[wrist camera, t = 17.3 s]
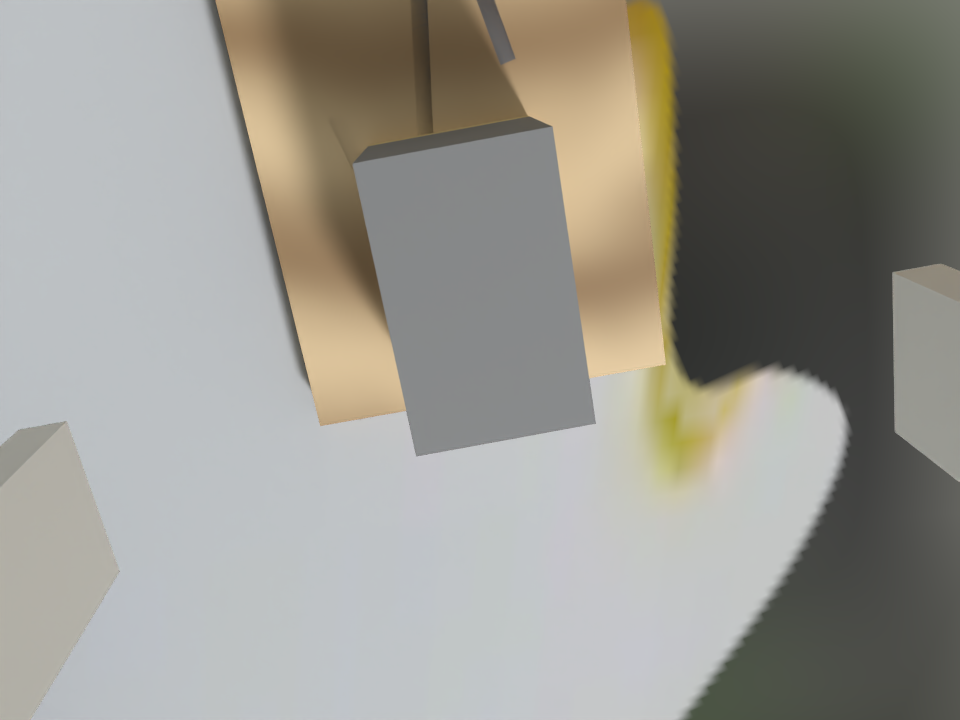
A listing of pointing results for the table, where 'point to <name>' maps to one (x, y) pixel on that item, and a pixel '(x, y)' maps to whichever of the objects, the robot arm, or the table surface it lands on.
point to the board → (429, 109)
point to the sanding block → (477, 282)
